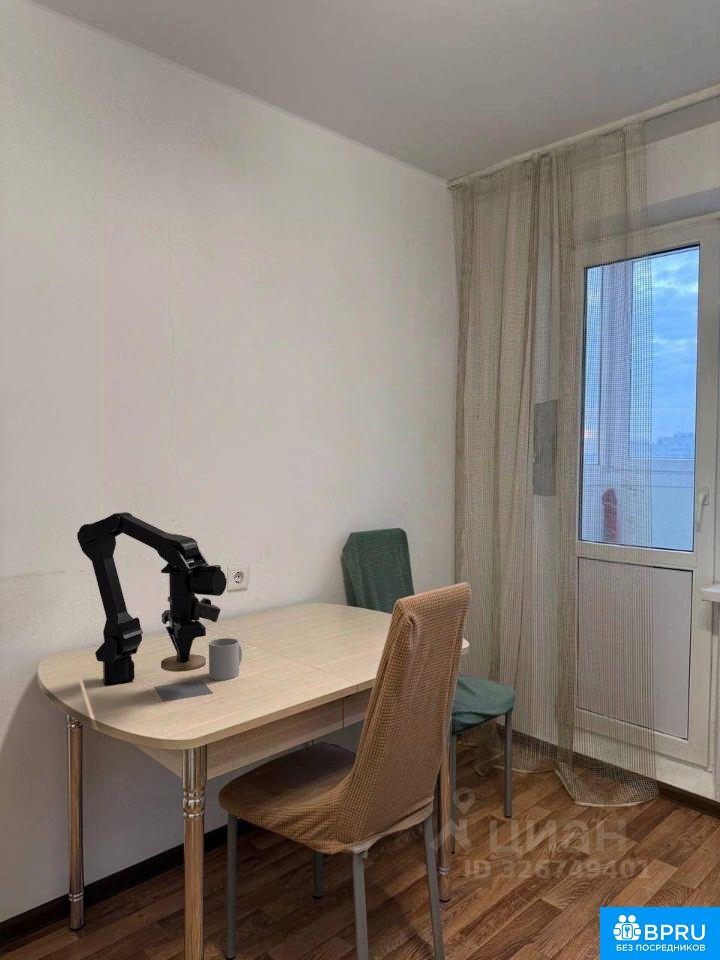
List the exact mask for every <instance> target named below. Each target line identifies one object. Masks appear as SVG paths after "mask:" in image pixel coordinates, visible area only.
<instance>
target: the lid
mask: <svg viewBox="0 0 720 960" xmlns="http://www.w3.org/2000/svg"><path fill="white" fill-rule="evenodd" d="M206 660H207V659H206V657H205V655H204V656H203V655H201V654H196V653H195V654H191V653H190V654H189V658H188V661H187V662H182V659H181V657H180V654H179V652H178V649H177V652H176V655H172V656H167V657H166V658H164V659H162V660H161V661H160V668H161V669H162V670H163V671H167V672H174V673H175V672H178V673H180V672H190V671H195V670H197V669H201V668H204V667H205V666H206V664H207V663H206Z"/></svg>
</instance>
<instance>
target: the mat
mask: <svg viewBox="0 0 720 960" xmlns="http://www.w3.org/2000/svg"><path fill="white" fill-rule="evenodd" d="M154 688H155V690H156V693H157V694H158V695H159V696H160V698H161V700H162V701H163V703H165V702H170V701H171V702H172V701H177V700H183V699H188V698H194V697H200V696H206V695H213V694H214V692H213V691H211V689H210V688H209V687H208V685H206V683H205V682H204V681H203V679H201V678H200V679H195V680H189V681H182V682H176V683H175V682H174V683H170V684H169V683H168V684H163V685H161V684H160V685H157V686H156V685H155V686H154Z"/></svg>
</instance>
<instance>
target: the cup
mask: <svg viewBox="0 0 720 960" xmlns="http://www.w3.org/2000/svg"><path fill="white" fill-rule="evenodd" d="M242 659H243V649H242V646H241V644H240V640H238V639H236V638H231V637H224V638H222V637H221V638H216V639H212V640H210V641H208V666H209V667H208V670H209V671H208V674H209V675H208V676H209V679H211V680H214V681H229V680H234V679H237V678H238V677H239V675H240V665H241V664H242Z"/></svg>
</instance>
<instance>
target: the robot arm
mask: <svg viewBox="0 0 720 960" xmlns="http://www.w3.org/2000/svg"><path fill="white" fill-rule="evenodd" d="M122 534H124V535H126V536H128V537H129V538H132V539H134V540H136V541H138V542H140V543H142V544H144V545H145V546H148V547H150V548H152V549H154V550H155V551H156V552H157V554H158V555H159V557H160V558H161V559H163V560H164V561H165V562H167V563H166V565H165V567H163V568H162V569H161V570H160V573H161V574H168V576H169V577H168V579H169V580H168V583H169V588H168V589H169V592H168V593H169V596H167V602H168V603H169V609H166V610H163V613H162V614H161V623H162V624H163V625H167V623H168V622H169V624H168V626H166V627H165V629H166V632H167V633H168V636H169V638H170V641H171V642H172V645H173V646H174V649H175V651H176V653H177V649H178V652H179V654H180V657H181V659H182V662H187V661H188V658H189V654H191V650H192V645H193V642H194V640H195V639H196V638H202V637H203V638H204V637H206V636H207V633H206V632H207V631H206V630H207V627H206V626H205V625H204V624H203V623H201V622H200V618H201V619H204V620H208V621H211V622H212V623H217V622H218V618H219V616H220V613H221V607H219V606H216V605H214V604H212V600H211V599H209V598H207V597H202V599H201V600H200V601H199V598H198V597H197V596H196V595H203V596H214V597H220V596H222V595H223V594H224V593H225V590H226V588H227V582H228V581H227V580H228V579H227V577H226V574H225V573H224V571H222V566H221V565H220V564H214V565H209V562H208V561H207V559H206V557H205V556H204V555H203V553H202V551H201V550H200V548H199V545H198V542H197V540H196V539H194V538H193V537H191V536H185V535H183V534H175V533H170V532H166V531H164V530H162V529H160V528H158V527H156V526H154V525H152V524H150V523H148V522H146V521H143V520H142V519H140V518H138V517H136V516H133V514H131V513H130V512H126V511H124V512H116V513H113V514H110V515H109V516H108V517H105V518H103V519H101V520H97V521H94V522H92V523H86V524H82V525H81V526H80V528H79V529H78V531H77V534H76V537H77V539H76V540H77V541H78V544H79V547H80V548H81V551H82V552H83V554H84V556H86V557H87V558H88V559H89V560H90V561H91V564H92V567H93V571H94V576H95V578H96V582H97V586H98V590H99V595H100V598H101V602H102V606H103V610H104V614H105V624H104V627H103V632H102V633H103V634H102V635H103V643H102V644H101V645H100V646H99V647H98V648H97V649H96V651H95V655H94V656H95V658H96V661H97V662H102V679H101V681H102V683H103V685H104V687H111V686H117V685H119V686H120V685H126V684H131V683H134V679H135V662H134V660H133V658H132V655H136V654H137V653H138V650H139V646H140V644H141V642H142V641H143V635H142V634H144V631H143V630H142V629H143V628H142V627H141V622H140V618H139V617H138V616H137V617H132V615H131V614H130V613H129V612H128V608H127V606H126V601H125V598H124V592H123V590H122V586H121V582H120V578H119V574H118V571H117V567H116V563H115V558H114V553H115V551H116V547H117V540H116V538H117V537H118V536H120V535H122Z"/></svg>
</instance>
